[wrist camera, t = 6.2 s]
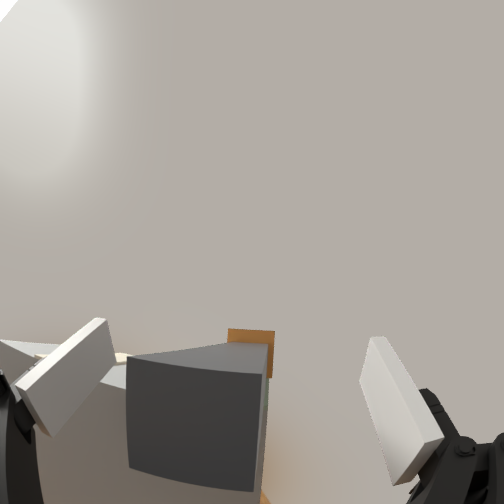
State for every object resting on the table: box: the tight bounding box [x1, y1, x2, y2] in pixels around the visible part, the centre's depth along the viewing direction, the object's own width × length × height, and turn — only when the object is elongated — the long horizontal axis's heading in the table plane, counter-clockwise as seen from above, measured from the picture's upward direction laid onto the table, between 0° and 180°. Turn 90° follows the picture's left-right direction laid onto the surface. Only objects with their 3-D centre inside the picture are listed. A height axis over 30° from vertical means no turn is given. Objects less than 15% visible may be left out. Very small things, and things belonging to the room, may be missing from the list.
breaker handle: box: [126, 329, 275, 492], centre depth 18 cm, size 26×5×5 cm, turn 176°
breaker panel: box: [0, 340, 269, 504], centre depth 19 cm, size 17×26×30 cm, turn 86°
